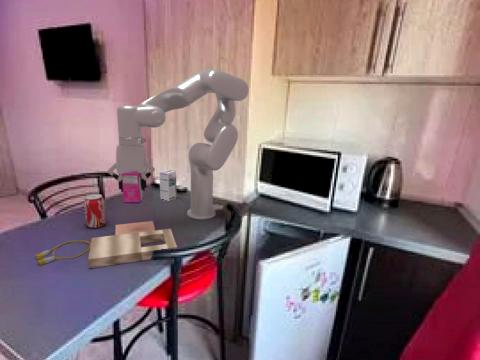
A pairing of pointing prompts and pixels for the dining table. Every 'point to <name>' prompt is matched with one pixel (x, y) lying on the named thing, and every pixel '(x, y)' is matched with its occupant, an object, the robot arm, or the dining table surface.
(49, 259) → the extension cord
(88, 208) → the soda can
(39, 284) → the dining table surface
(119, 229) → the mat
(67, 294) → the dining table surface
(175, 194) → the syrup box
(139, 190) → the supplement box
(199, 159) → the robot arm
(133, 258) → the wooden cutout board
